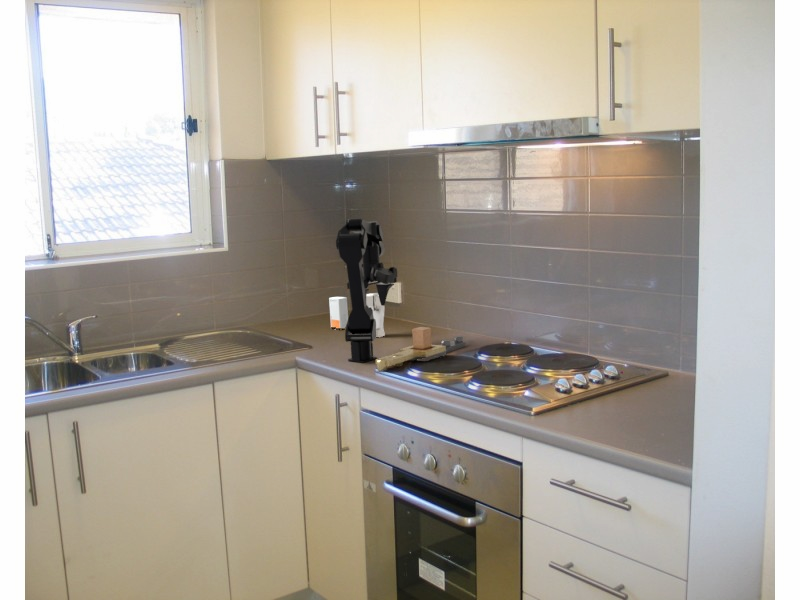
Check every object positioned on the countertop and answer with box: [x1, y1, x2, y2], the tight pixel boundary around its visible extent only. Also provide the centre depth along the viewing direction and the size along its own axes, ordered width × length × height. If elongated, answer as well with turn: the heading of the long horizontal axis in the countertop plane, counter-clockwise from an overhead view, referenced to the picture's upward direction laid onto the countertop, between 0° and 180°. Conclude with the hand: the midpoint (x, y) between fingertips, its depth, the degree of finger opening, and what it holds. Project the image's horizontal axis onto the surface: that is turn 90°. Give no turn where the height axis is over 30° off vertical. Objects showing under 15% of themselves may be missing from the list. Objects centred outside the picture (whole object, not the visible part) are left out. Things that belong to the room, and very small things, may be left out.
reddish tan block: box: [411, 326, 433, 350], centre depth 247 cm, size 4×4×9 cm
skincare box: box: [328, 296, 349, 328], centre depth 306 cm, size 6×4×12 cm
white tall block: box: [366, 292, 386, 338], centre depth 286 cm, size 7×7×15 cm
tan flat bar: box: [374, 335, 466, 372], centre depth 248 cm, size 41×10×3 cm, turn 141°
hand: (373, 307), depth 267 cm, fingers open, 9 cm apart
